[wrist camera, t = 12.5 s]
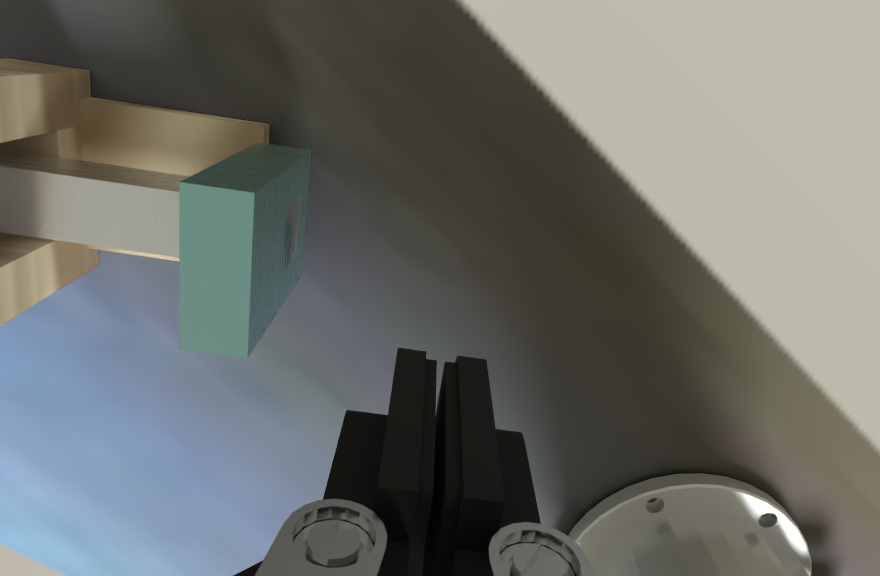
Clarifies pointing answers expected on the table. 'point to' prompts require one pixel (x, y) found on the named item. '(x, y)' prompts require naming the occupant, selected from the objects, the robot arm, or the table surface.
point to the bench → (93, 160)
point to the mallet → (180, 229)
